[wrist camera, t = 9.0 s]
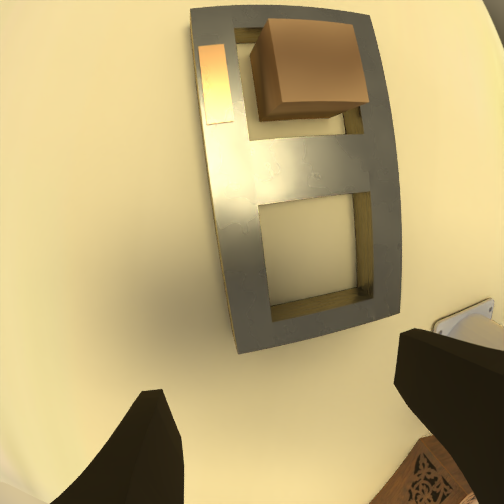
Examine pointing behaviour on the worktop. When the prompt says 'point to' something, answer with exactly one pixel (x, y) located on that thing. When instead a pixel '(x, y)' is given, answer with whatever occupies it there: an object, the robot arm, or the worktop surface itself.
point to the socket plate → (295, 181)
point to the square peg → (307, 70)
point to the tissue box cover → (427, 478)
